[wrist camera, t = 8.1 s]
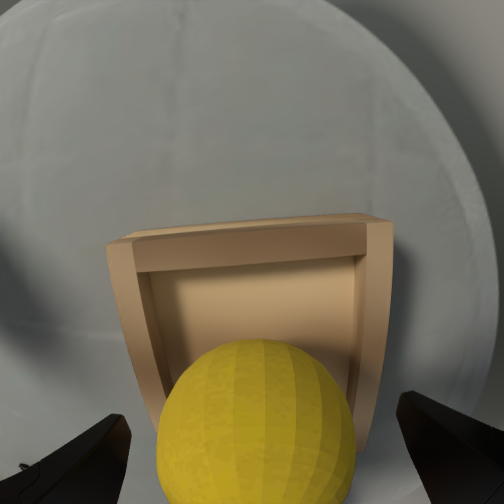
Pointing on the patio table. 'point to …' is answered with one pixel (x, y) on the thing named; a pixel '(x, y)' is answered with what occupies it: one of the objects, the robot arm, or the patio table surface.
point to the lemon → (256, 429)
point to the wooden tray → (258, 298)
